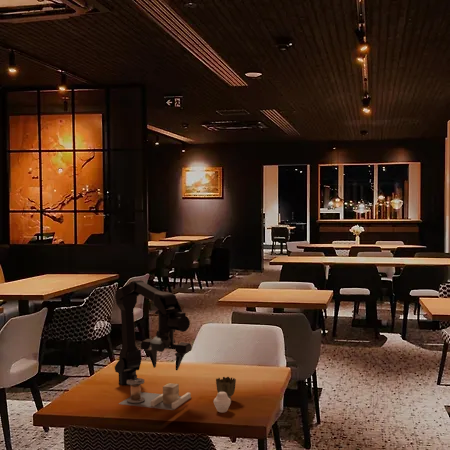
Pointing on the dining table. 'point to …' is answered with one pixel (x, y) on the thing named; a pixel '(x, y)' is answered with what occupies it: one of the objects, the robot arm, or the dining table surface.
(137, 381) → the bobbin
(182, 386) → the dining table surface
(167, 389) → the block
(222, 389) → the cup
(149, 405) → the board
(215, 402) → the muffin
